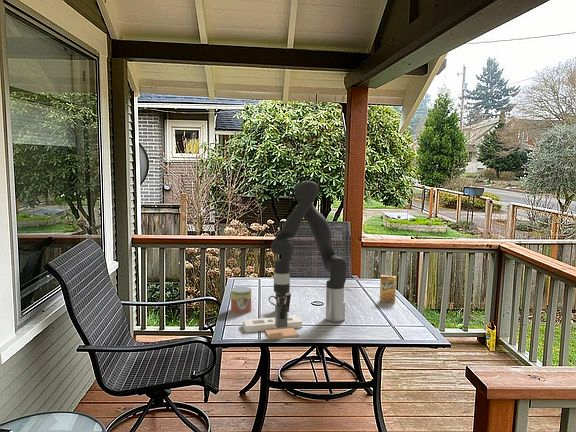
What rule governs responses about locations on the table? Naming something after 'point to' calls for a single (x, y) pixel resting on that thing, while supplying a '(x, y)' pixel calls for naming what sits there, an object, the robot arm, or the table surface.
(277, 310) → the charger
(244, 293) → the canned food
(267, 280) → the table surface
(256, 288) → the table surface
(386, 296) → the candy box
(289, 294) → the coffee mug
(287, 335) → the mat
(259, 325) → the power strip
